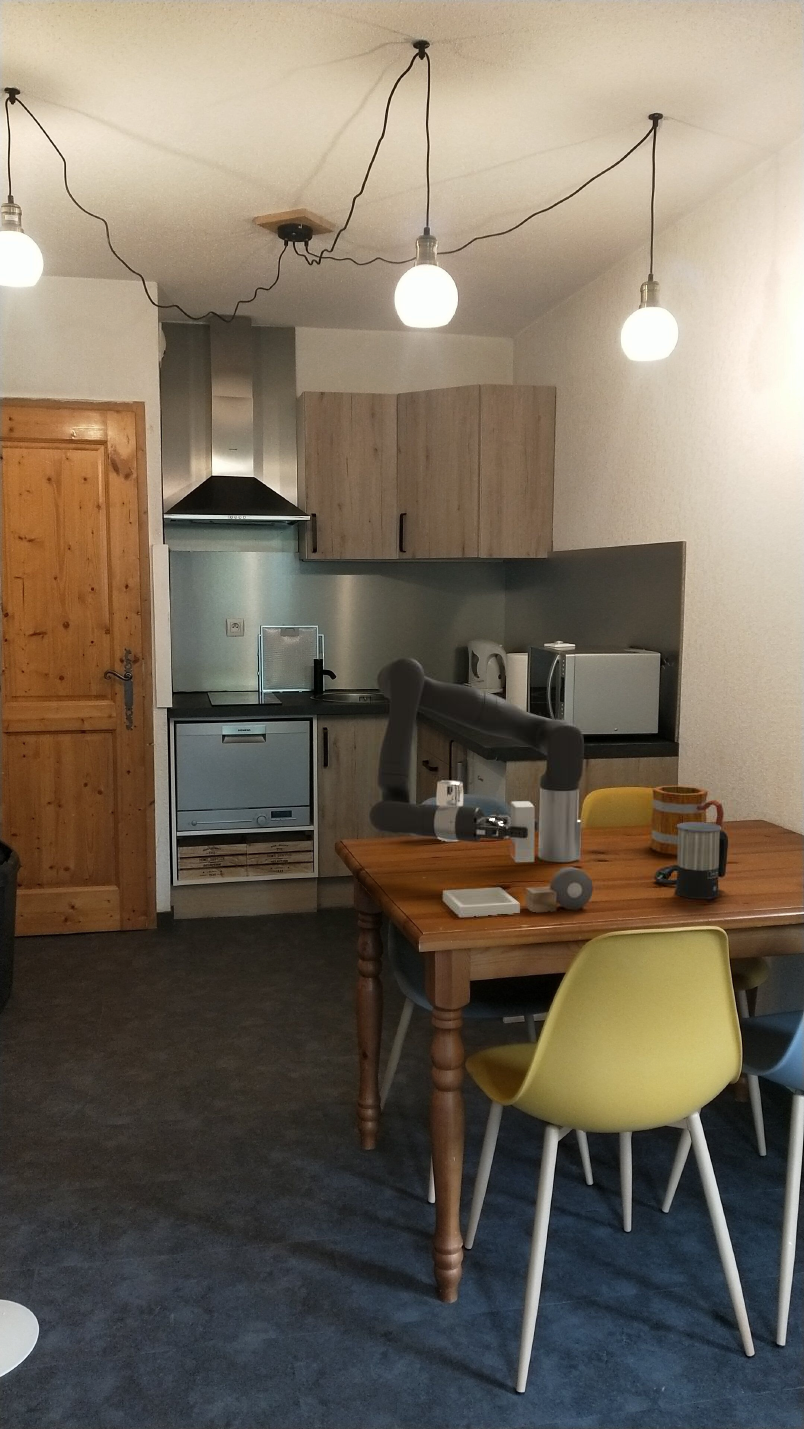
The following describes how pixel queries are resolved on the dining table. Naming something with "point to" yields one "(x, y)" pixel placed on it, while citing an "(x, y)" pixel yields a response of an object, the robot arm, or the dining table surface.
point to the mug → (678, 814)
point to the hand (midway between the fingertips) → (532, 829)
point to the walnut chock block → (541, 899)
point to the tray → (480, 902)
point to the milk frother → (697, 861)
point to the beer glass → (449, 796)
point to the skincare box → (523, 818)
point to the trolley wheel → (572, 887)
